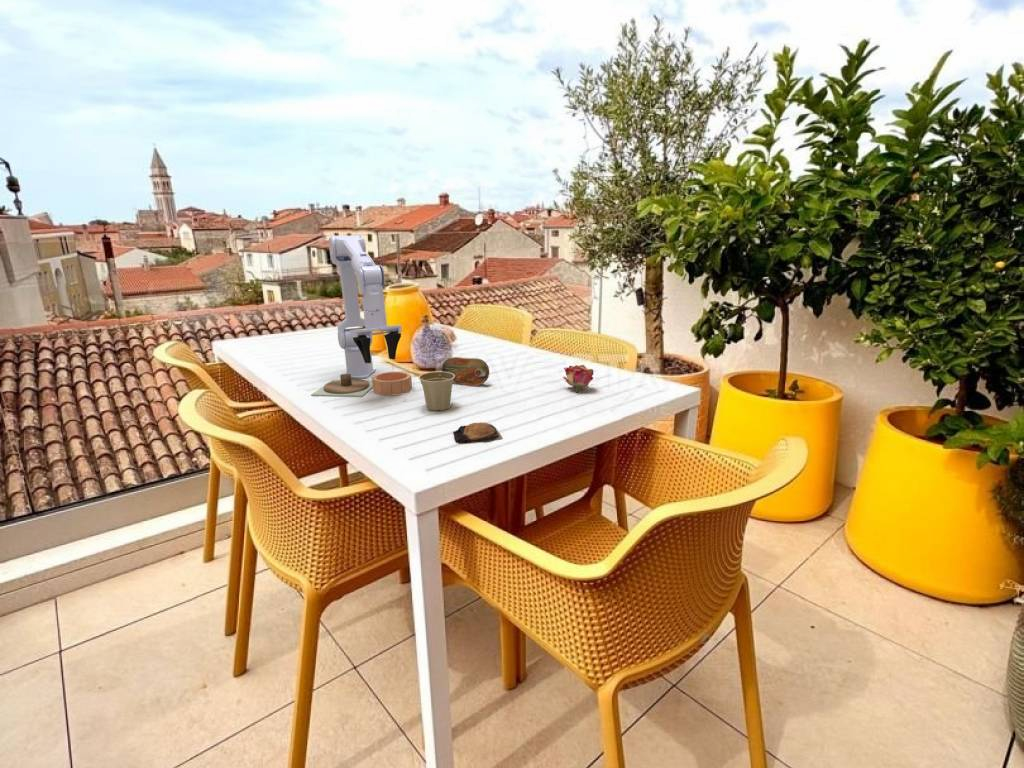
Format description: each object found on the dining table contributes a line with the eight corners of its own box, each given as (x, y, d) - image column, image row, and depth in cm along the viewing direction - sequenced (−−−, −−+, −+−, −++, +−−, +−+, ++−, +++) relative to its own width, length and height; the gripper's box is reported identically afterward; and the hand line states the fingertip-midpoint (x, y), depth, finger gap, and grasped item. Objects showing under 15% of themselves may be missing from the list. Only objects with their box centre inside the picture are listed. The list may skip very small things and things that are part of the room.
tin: (441, 383, 153) (440, 356, 151) (446, 380, 156) (445, 354, 154) (487, 387, 149) (486, 360, 146) (490, 384, 152) (490, 358, 149)
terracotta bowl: (380, 383, 153) (379, 371, 152) (415, 384, 152) (414, 371, 151) (368, 394, 142) (367, 381, 141) (405, 395, 142) (404, 381, 140)
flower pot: (449, 414, 126) (448, 382, 124) (415, 412, 128) (413, 380, 126) (460, 402, 135) (459, 372, 133) (428, 400, 137) (426, 370, 135)
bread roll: (495, 429, 118) (495, 414, 117) (504, 442, 110) (504, 427, 109) (451, 433, 116) (450, 419, 115) (456, 447, 108) (456, 431, 107)
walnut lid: (334, 380, 155) (333, 369, 154) (375, 381, 154) (374, 369, 153) (316, 393, 142) (314, 381, 141) (360, 394, 141) (358, 381, 140)
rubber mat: (333, 381, 156) (332, 379, 156) (379, 381, 155) (379, 380, 155) (311, 395, 142) (311, 394, 141) (362, 396, 141) (362, 395, 140)
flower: (596, 391, 139) (598, 365, 142) (564, 384, 139) (567, 358, 141) (586, 400, 149) (589, 375, 151) (557, 394, 148) (560, 369, 150)
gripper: (357, 312, 126) (364, 365, 128) (405, 308, 136) (410, 357, 138) (344, 313, 131) (350, 364, 133) (391, 309, 141) (396, 357, 143)
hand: (380, 361), depth 136 cm, fingers open, 7 cm apart
